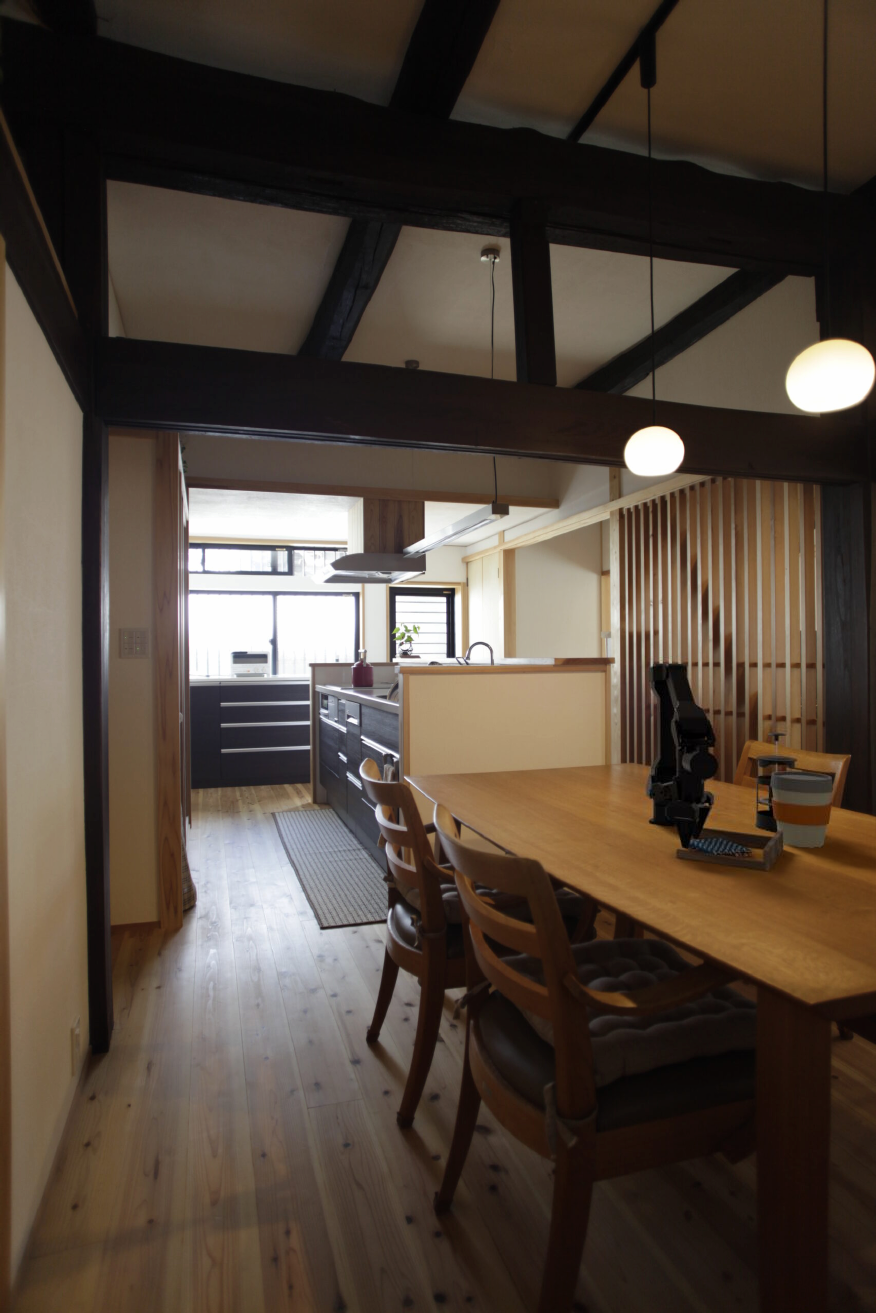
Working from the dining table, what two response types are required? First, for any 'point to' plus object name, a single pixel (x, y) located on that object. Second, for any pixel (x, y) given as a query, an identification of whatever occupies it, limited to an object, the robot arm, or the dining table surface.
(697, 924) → the dining table surface
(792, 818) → the reusable coffee cup
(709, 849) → the woven mat
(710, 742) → the robot arm
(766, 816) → the french press
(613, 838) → the dining table surface
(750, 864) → the box
